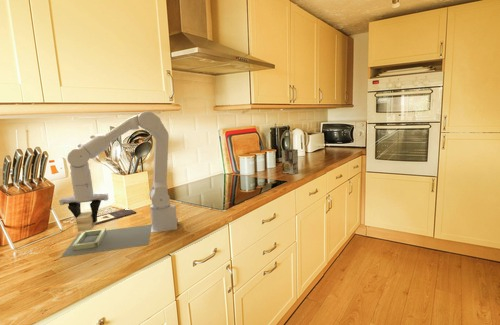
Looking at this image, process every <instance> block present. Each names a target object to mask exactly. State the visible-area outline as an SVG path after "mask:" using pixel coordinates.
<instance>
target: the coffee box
mask: <svg viewBox="0 0 500 325" xmlns="http://www.w3.org/2000/svg"><path fill="white" fill-rule="evenodd" d="M298 153H299V152H298V149H293V148H285V149H282V150H281V162H282V163H281V165H282V166H281V168H282V169H281V170H282V174H286V173H289V174H288V175H296V174H298V173H299V160H298V159H299V158H298V156H299V155H298ZM295 173H296V174H295Z"/></svg>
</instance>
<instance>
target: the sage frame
mask: <svg viewBox="0 0 500 325" xmlns="http://www.w3.org/2000/svg"><path fill="white" fill-rule="evenodd" d="M106 230H107V228H100V229H98V228H97V229H92V230H88V231H81V233H80V234H81V235H80V236H79V237H78V239H77V240H76V241H75V242H74V244H73V245H72V250H79V249H86V248H93V247H98V246H99V244H100V242H101V241H102V239H103V237H104V235H105V234H106ZM97 234H99V236H98V237H97V239H96V241H95V242H89V243H82V244H80V243H81V242H82V241H83V239H84V238H85V236H89V235H97Z"/></svg>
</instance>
